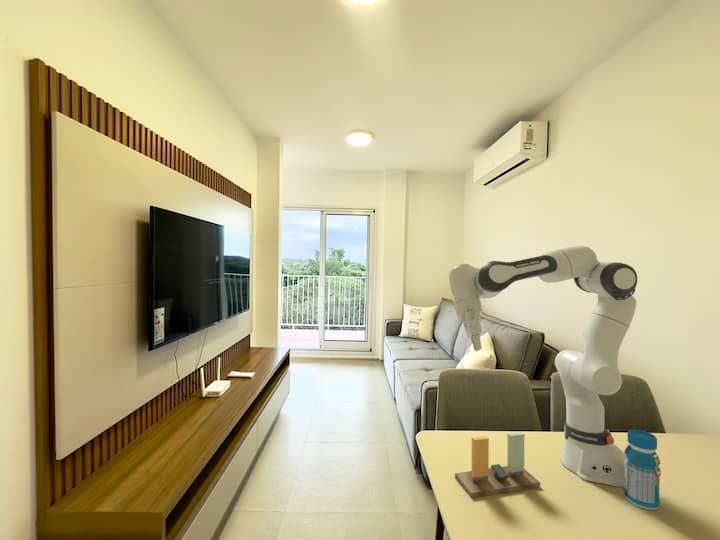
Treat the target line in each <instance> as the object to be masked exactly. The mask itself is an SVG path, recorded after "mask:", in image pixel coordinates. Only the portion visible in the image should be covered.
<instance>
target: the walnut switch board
mask: <svg viewBox="0 0 720 540" xmlns="http://www.w3.org/2000/svg"><path fill="white" fill-rule="evenodd" d="M507 466H508V465H507ZM507 466H506V465H505V466H501V467H502V468H503V469H504V470H505V472H506V473H507V474H508V470H507ZM472 477H473V476H472V470H468V471H463V472H455V473H454V478H455V480H456V481H457V482H458V483H459V485H460V486H461V487H462V488H463V490H464V491H465V492H466V494H467V495H468V496H469V497H470V498H471V499H472V498H480V497H486V496H492V495H498V494H506V493H511V492H512V493H513V492H518V491H524V490H530V489H536V488H540V487H541V482H540V481H539V480H538V479H536V478H535V477H534V476H533V474H531V473H530V472H529V471H527V470H526V469H525V468H524V474H517V475H511V476H509V478H508V479H501V480H500V479H499V478H495V477H494V475H493V470H492V469H491V467H490V468H489V469H488V479H483V480H476V481H472Z"/></svg>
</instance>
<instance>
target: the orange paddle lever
mask: <svg viewBox="0 0 720 540" xmlns="http://www.w3.org/2000/svg"><path fill="white" fill-rule="evenodd" d="M489 439H490V438H489V437H487V436H486V435H482V436H477V437H476V436H475V437H471V471H472V476H473V477H472V481H476V480H483V479H488V469H490V468H489V461H490V459H489V458H490V457H489V455H490V453H489V451H490V450H489V449H490V448H489V443H490V440H489Z"/></svg>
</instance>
